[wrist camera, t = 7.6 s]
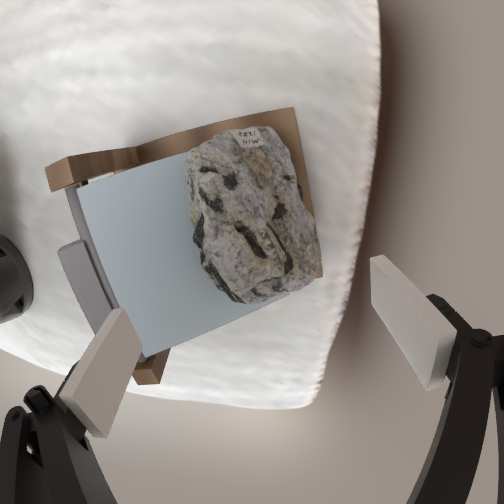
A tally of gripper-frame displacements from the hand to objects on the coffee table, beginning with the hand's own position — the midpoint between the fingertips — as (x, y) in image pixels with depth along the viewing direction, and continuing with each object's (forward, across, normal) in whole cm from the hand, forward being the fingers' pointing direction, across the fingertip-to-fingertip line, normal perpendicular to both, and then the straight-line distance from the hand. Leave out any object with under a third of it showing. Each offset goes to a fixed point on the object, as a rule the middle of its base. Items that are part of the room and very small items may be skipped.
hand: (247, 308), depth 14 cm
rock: (+13, 0, +1) cm, 13 cm away
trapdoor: (+11, -6, 0) cm, 13 cm away
